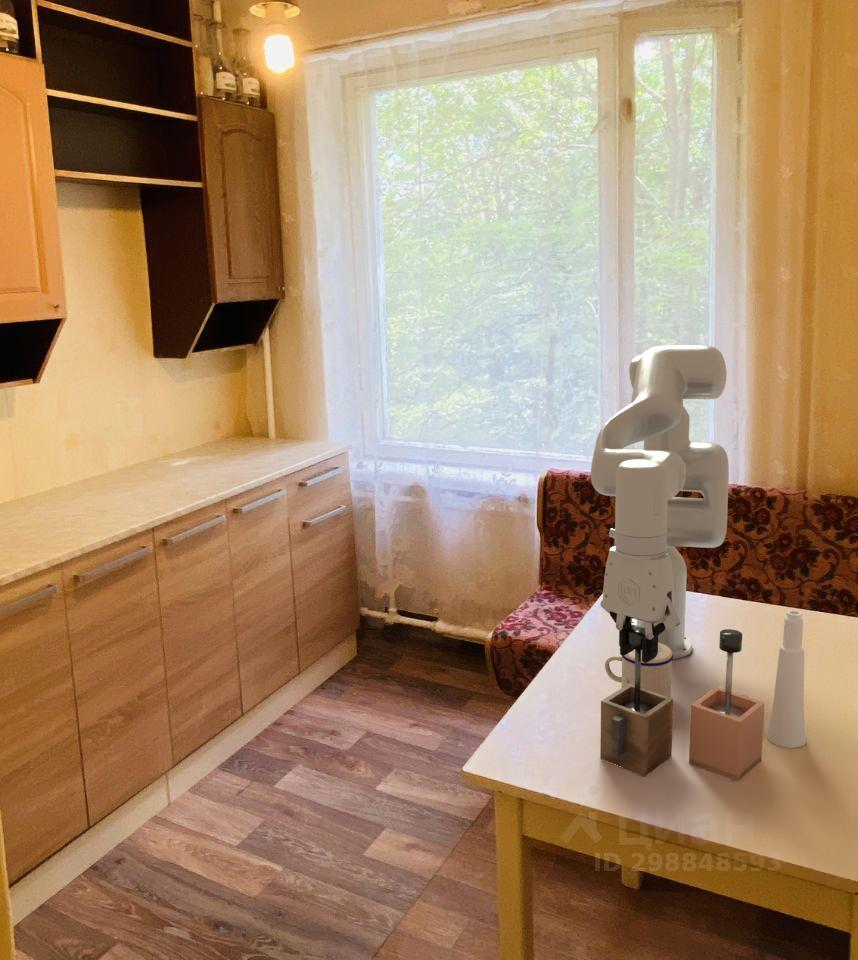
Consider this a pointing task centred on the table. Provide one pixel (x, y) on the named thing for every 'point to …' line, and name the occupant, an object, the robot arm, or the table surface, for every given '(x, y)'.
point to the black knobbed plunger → (729, 669)
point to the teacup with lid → (646, 670)
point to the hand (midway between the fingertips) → (638, 655)
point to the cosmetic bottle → (789, 687)
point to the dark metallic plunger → (637, 669)
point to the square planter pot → (726, 735)
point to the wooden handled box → (636, 731)
